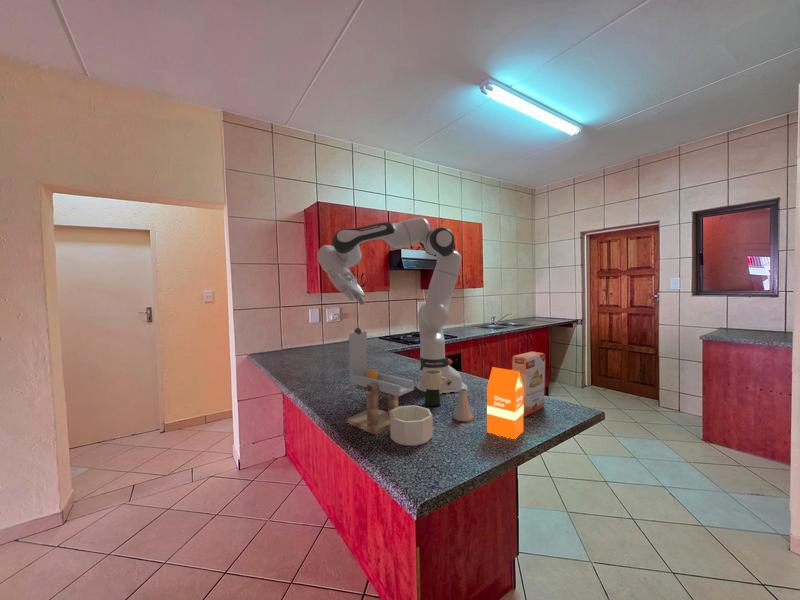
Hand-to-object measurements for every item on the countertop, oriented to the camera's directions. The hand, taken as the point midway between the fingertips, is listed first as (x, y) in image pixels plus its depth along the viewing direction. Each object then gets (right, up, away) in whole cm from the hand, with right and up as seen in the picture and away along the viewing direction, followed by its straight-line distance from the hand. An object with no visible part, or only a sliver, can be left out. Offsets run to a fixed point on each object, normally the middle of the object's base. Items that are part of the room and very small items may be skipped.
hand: (358, 302), depth 126 cm
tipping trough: (+10, -30, -21) cm, 38 cm away
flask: (+39, -41, -15) cm, 58 cm away
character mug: (+29, -40, -2) cm, 50 cm away
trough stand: (+8, -41, -19) cm, 46 cm away
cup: (+20, -41, -28) cm, 54 cm away
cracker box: (+64, -40, -9) cm, 76 cm away
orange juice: (+50, -41, -26) cm, 70 cm away
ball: (+7, -25, -18) cm, 32 cm away
